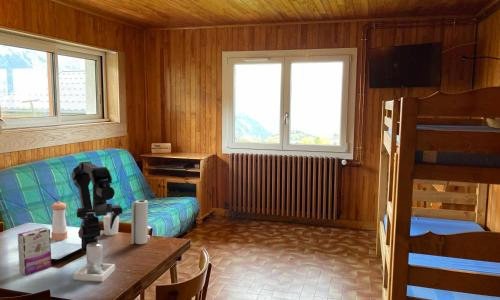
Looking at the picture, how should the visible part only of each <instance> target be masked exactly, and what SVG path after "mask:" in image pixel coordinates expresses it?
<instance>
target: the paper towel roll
mask: <svg viewBox="0 0 500 300" xmlns="http://www.w3.org/2000/svg"><path fill="white" fill-rule="evenodd" d="M148 204H149V203H148V200H146V199H138V200H135V201H133V202H131V222H130V223H131V224H130V225H131V239H130V240H131V242H130V243H131V245H133V244H136V245H145V244H147V243H148V240H149V239H148V234H149V233H148V230H149V229H148V226H149V225H148V224H149V223H148V219H149V217H148V216H149V215H148V214H149V213H148V212H149V205H148Z"/></svg>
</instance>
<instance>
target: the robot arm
mask: <svg viewBox="0 0 500 300" xmlns="http://www.w3.org/2000/svg"><path fill="white" fill-rule="evenodd" d="M71 180H72V181H73V185H74V186H75V188H77V189H78V194H79V199H80V205H81V207H79V208H77V209H76V218H79V219H80V220H81V223H80V227H79V229H78V232H77V233H78V237H79V239H81V248H83V249H82V250H81V251H82V252H87V244H89V243H94V242H99V239H98V237H101V232H102V226H101V223H100V221H99V217H103V216H106V215H107V214H109V213H111V220H110V229H112V226H113V223H114V220H115V218H116V217H117V216H119V217H120V215H122V214H123V207H122V206H121V205H120V204H117V205H115V204H114V205H112V203H107V201H110V200H112V199H113V198H114V196H115V193H116V191H115V189H114V187H111V184H113V178H112V174H111V172H110V170H109V169H108V167H106V166H97V165H96V164H93V163H92V162H91V161H82V162H79V164H78V165H76V167H74V168H73V170H72V172H71ZM90 183H91V184H92V198H91V193H90V192H91V191H90V186H89V185H90ZM91 199H92V200H91ZM81 251H80V252H81Z"/></svg>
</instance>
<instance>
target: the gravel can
mask: <svg viewBox="0 0 500 300" xmlns="http://www.w3.org/2000/svg"><path fill="white" fill-rule="evenodd" d="M103 250H104V247H103V243H102V242H99V241H98V242H94V243H89V244H87V251H86V264H87V274H96V275H102V274H103V264H104V262H103V261H104V259H103V258H104V254H103Z"/></svg>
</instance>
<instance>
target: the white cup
mask: <svg viewBox="0 0 500 300" xmlns="http://www.w3.org/2000/svg"><path fill="white" fill-rule="evenodd" d="M102 218H103V230H104V235H105V236H115V235H117V234H118V233H119V225H120V224H119V223H120V222H119V221H120V215H119V216H117V217H116V218H115V220H114V223H113V226H112V229H110V220H111V212H109V213H107V215H106V216H102Z"/></svg>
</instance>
